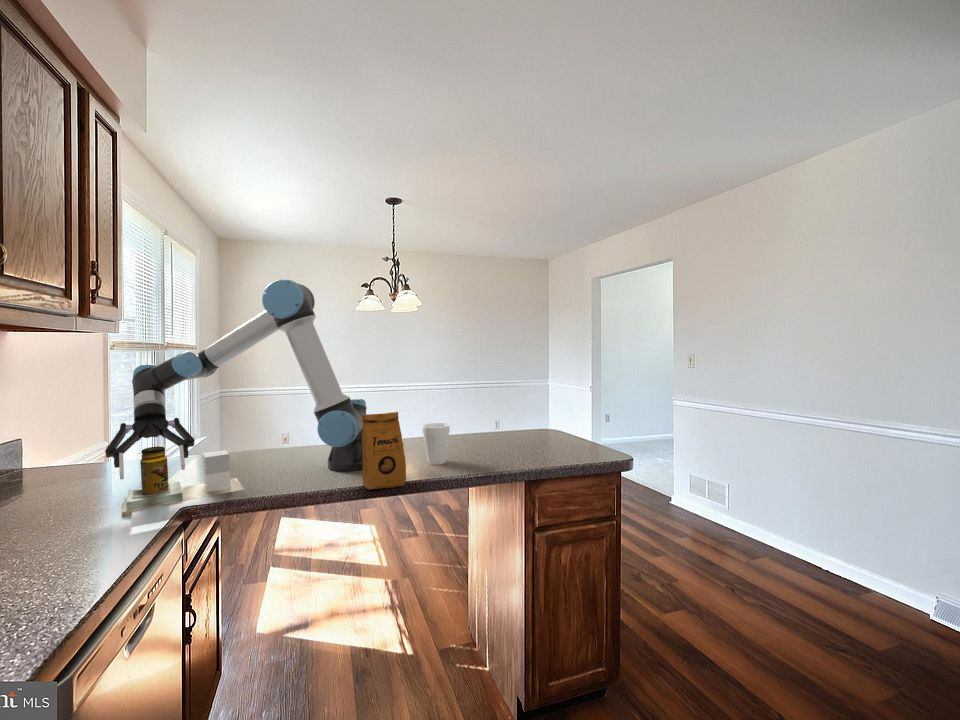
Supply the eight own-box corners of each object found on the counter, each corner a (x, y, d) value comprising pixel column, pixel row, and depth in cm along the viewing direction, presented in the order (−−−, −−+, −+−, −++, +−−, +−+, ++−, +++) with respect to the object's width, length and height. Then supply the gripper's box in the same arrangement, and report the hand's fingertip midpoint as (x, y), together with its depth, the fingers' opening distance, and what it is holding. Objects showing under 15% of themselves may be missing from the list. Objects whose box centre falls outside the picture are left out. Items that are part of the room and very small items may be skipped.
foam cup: (419, 465, 161) (418, 427, 161) (428, 457, 170) (427, 422, 170) (445, 466, 159) (444, 428, 158) (453, 459, 168) (452, 423, 167)
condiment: (170, 492, 127) (168, 448, 126) (131, 499, 122) (129, 453, 122) (170, 485, 133) (167, 443, 133) (133, 491, 128) (130, 448, 128)
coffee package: (408, 488, 137) (406, 413, 136) (364, 493, 133) (362, 417, 132) (402, 478, 146) (400, 408, 145) (361, 483, 142) (359, 411, 141)
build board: (236, 481, 146) (236, 471, 146) (244, 493, 135) (244, 482, 135) (124, 501, 130) (123, 490, 130) (122, 516, 119) (121, 504, 119)
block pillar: (227, 482, 141) (226, 450, 141) (230, 487, 136) (228, 454, 136) (204, 486, 138) (202, 453, 137) (206, 492, 133) (205, 457, 132)
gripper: (198, 412, 147) (206, 470, 136) (96, 422, 132) (95, 488, 121) (199, 397, 142) (207, 456, 131) (93, 406, 128) (91, 473, 117)
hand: (153, 471), depth 126 cm, fingers open, 13 cm apart
